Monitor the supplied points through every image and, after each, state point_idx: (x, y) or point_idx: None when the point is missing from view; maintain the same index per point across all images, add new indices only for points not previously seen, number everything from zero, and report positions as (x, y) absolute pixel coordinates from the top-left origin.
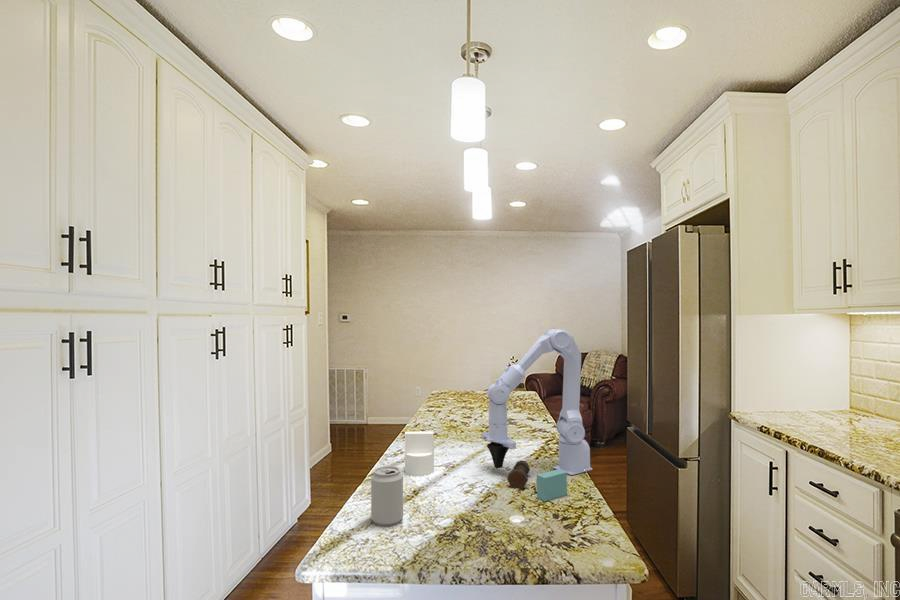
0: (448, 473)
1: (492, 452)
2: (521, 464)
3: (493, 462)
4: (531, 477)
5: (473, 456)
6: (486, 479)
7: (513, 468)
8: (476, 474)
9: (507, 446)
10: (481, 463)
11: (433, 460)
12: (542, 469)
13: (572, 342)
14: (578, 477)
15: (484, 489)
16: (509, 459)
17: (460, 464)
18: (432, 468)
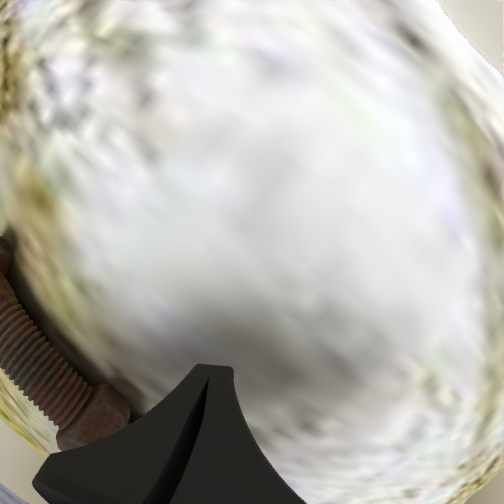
0: (417, 62)
1: (199, 455)
2: (62, 432)
3: (228, 386)
4: None
5: (491, 380)
6: (144, 193)
7: (104, 406)
8: (284, 199)
9: (3, 492)
10: (419, 370)
11: (501, 11)
12: None
13: None
14: None
15: (46, 91)
16: (338, 482)
17: (491, 251)
18: (464, 9)
